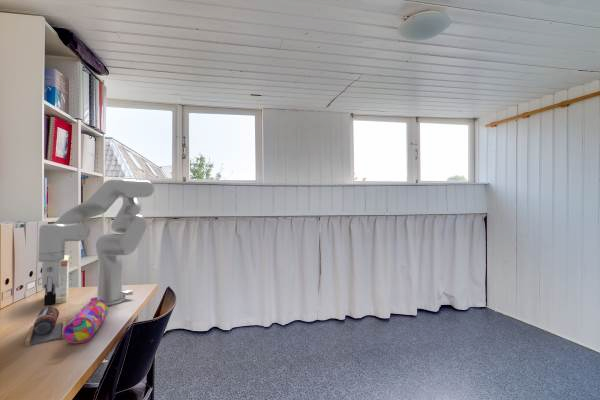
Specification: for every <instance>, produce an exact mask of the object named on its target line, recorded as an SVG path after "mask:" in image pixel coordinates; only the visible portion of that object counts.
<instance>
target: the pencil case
mask: <svg viewBox="0 0 600 400" xmlns="http://www.w3.org/2000/svg"><path fill="white" fill-rule="evenodd" d="M108 313H109V305H108V306H107V304H106V302H105V301H103V300H97V296H95V297H92V298H90V300H89V301H88V302H87V303H86V304H85V305H83V307H82V309H81V310H80V311H79V312H78V313H77V314H76V315H75V317H74V318H72V320H70V321H69V322H68V323H67V325H66V326H65V327H64V330H63V334H64V337H65V338H64V339H65V340H66V341H67V342H68V343H71V344H83V343H86V342H87V341H89V340H90V339H92V337H93V336H94V335H95V333H96V332H97V331H98V330H99V328H100V327H101V325H102V323H103V322H104V321H105V319H106V317H107V316H108Z"/></svg>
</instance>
